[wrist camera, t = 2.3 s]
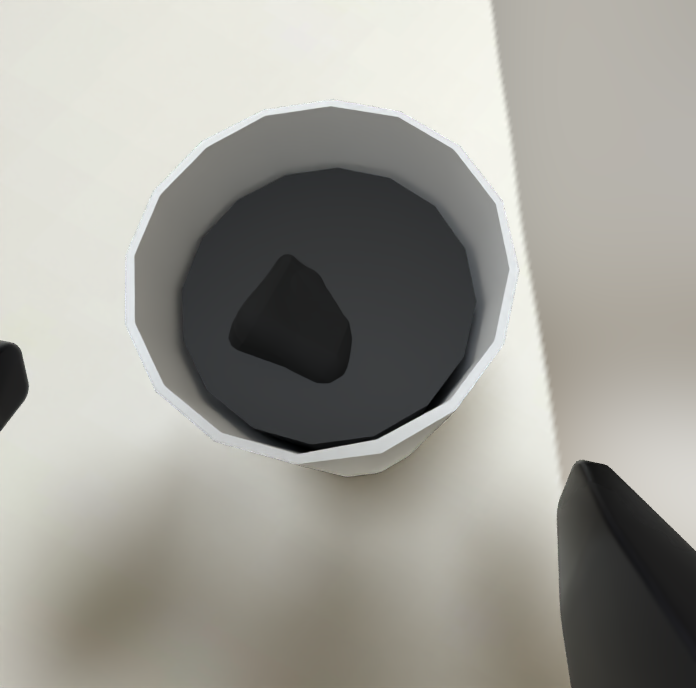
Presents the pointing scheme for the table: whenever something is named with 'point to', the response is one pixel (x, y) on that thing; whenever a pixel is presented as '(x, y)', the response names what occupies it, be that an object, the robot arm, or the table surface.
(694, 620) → the robot arm
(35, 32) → the table surface
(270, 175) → the white cup
